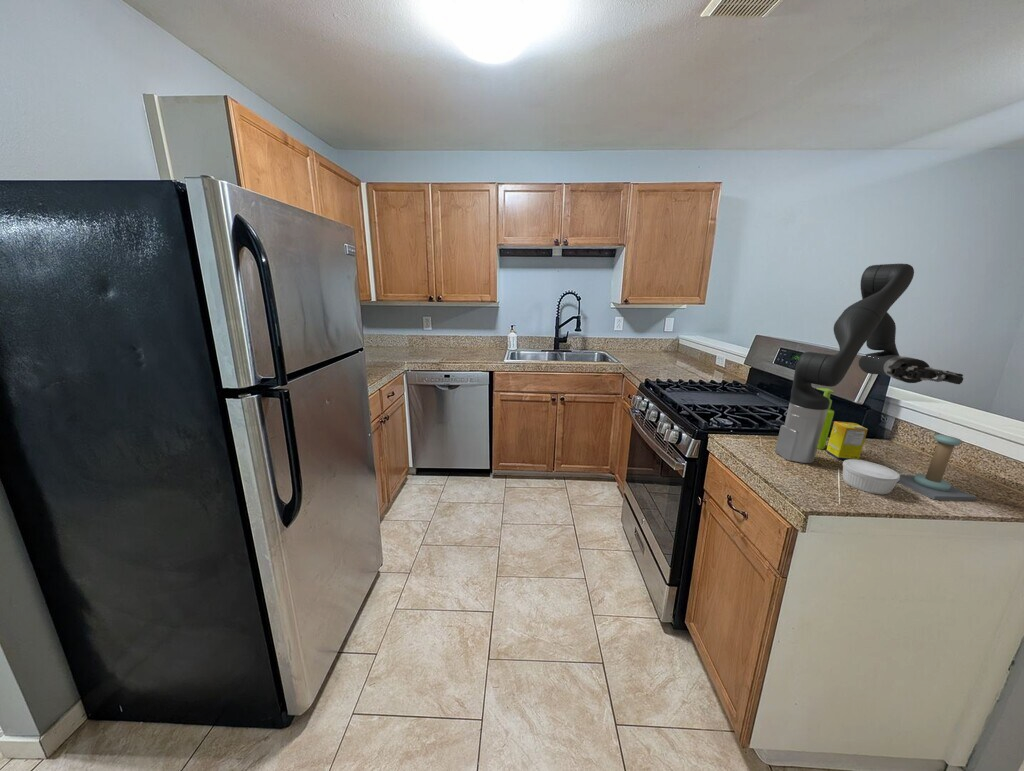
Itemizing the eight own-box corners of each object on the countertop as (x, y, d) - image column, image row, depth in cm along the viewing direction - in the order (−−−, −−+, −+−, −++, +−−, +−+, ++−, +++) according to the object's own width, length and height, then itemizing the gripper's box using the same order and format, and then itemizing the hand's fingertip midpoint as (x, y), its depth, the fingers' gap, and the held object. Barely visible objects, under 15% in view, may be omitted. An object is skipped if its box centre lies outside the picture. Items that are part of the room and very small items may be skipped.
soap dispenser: (814, 441, 127) (828, 387, 122) (828, 449, 121) (844, 392, 116) (796, 440, 128) (810, 386, 123) (810, 448, 121) (825, 391, 116)
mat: (933, 499, 92) (935, 496, 92) (889, 477, 103) (890, 474, 102) (975, 500, 92) (976, 496, 92) (926, 478, 103) (927, 475, 103)
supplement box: (845, 453, 118) (854, 422, 115) (858, 461, 112) (868, 429, 109) (824, 451, 119) (833, 420, 116) (837, 459, 113) (846, 427, 110)
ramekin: (855, 493, 94) (860, 475, 92) (829, 473, 104) (833, 456, 103) (906, 500, 92) (913, 481, 90) (874, 478, 102) (880, 461, 101)
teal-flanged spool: (932, 491, 94) (951, 442, 91) (906, 478, 100) (922, 432, 97) (956, 491, 94) (975, 443, 91) (928, 479, 100) (945, 433, 97)
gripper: (880, 354, 116) (909, 362, 102) (940, 360, 111) (979, 368, 96) (873, 377, 118) (900, 387, 104) (931, 383, 113) (969, 395, 98)
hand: (938, 378), depth 100 cm, fingers open, 8 cm apart
